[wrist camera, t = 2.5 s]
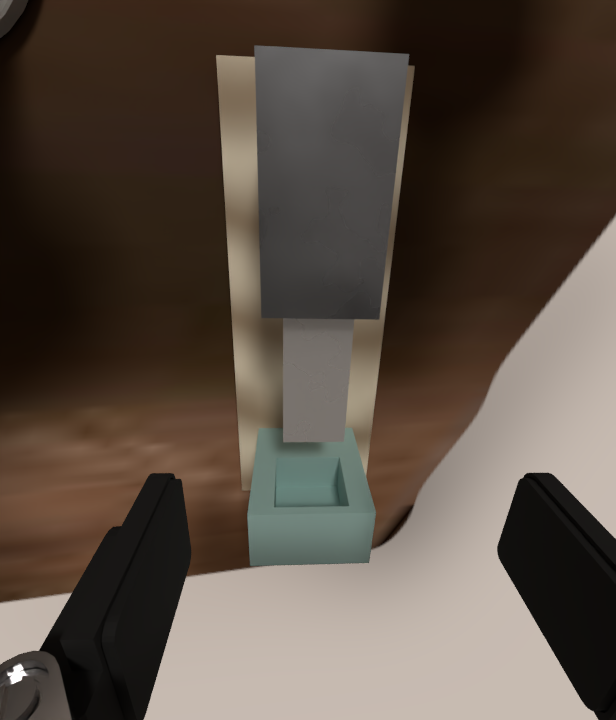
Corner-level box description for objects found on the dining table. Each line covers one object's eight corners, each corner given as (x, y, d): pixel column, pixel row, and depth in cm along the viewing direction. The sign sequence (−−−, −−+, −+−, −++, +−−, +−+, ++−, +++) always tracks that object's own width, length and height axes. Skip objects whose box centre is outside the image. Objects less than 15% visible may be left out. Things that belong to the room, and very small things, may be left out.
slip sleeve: (267, 106, 19) (254, 45, 11) (362, 110, 19) (409, 54, 12) (270, 279, 22) (261, 318, 15) (349, 281, 23) (379, 319, 15)
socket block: (258, 428, 27) (247, 515, 19) (352, 427, 27) (375, 512, 20) (260, 470, 28) (250, 565, 21) (348, 469, 29) (368, 562, 21)
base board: (221, 65, 19) (216, 55, 18) (405, 75, 20) (414, 65, 18) (244, 477, 30) (242, 490, 29) (361, 475, 31) (364, 488, 30)
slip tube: (284, 84, 15) (283, 57, 12) (359, 88, 15) (375, 62, 12) (283, 409, 22) (283, 442, 19) (336, 409, 22) (343, 441, 19)
